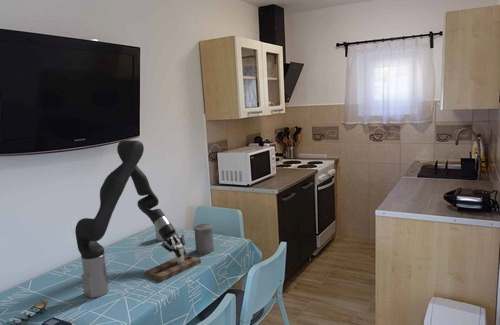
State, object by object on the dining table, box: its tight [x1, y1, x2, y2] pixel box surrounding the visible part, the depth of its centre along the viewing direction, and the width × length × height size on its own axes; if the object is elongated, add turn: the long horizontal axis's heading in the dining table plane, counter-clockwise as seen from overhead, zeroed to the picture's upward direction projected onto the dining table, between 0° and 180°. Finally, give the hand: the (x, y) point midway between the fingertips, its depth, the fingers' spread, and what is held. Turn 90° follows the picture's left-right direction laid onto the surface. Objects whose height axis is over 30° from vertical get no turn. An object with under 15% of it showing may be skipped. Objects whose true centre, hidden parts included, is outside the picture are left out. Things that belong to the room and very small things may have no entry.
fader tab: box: [174, 244, 185, 264], centre depth 192 cm, size 2×4×9 cm
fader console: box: [144, 253, 202, 283], centre depth 189 cm, size 25×12×2 cm, turn 141°
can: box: [154, 227, 164, 242], centre depth 233 cm, size 8×8×12 cm
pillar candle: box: [193, 223, 215, 255], centre depth 210 cm, size 10×10×15 cm
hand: (182, 255), depth 190 cm, fingers closed on fader tab, 2 cm apart
